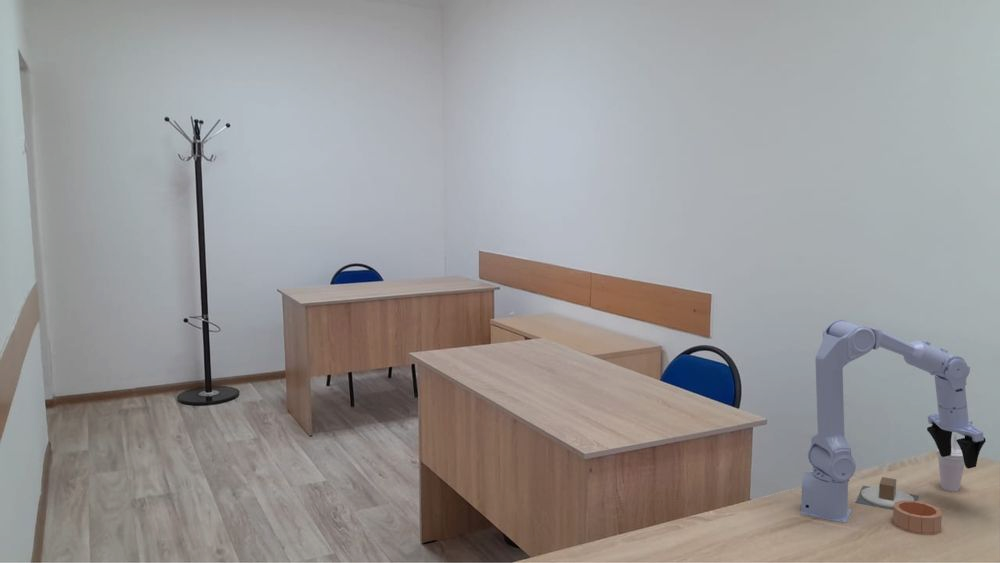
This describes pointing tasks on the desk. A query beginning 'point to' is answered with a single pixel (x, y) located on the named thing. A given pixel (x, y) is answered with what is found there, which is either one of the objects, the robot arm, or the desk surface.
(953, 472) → the smoothie
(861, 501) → the mat
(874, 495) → the lid
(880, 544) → the desk surface
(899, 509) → the bowl
